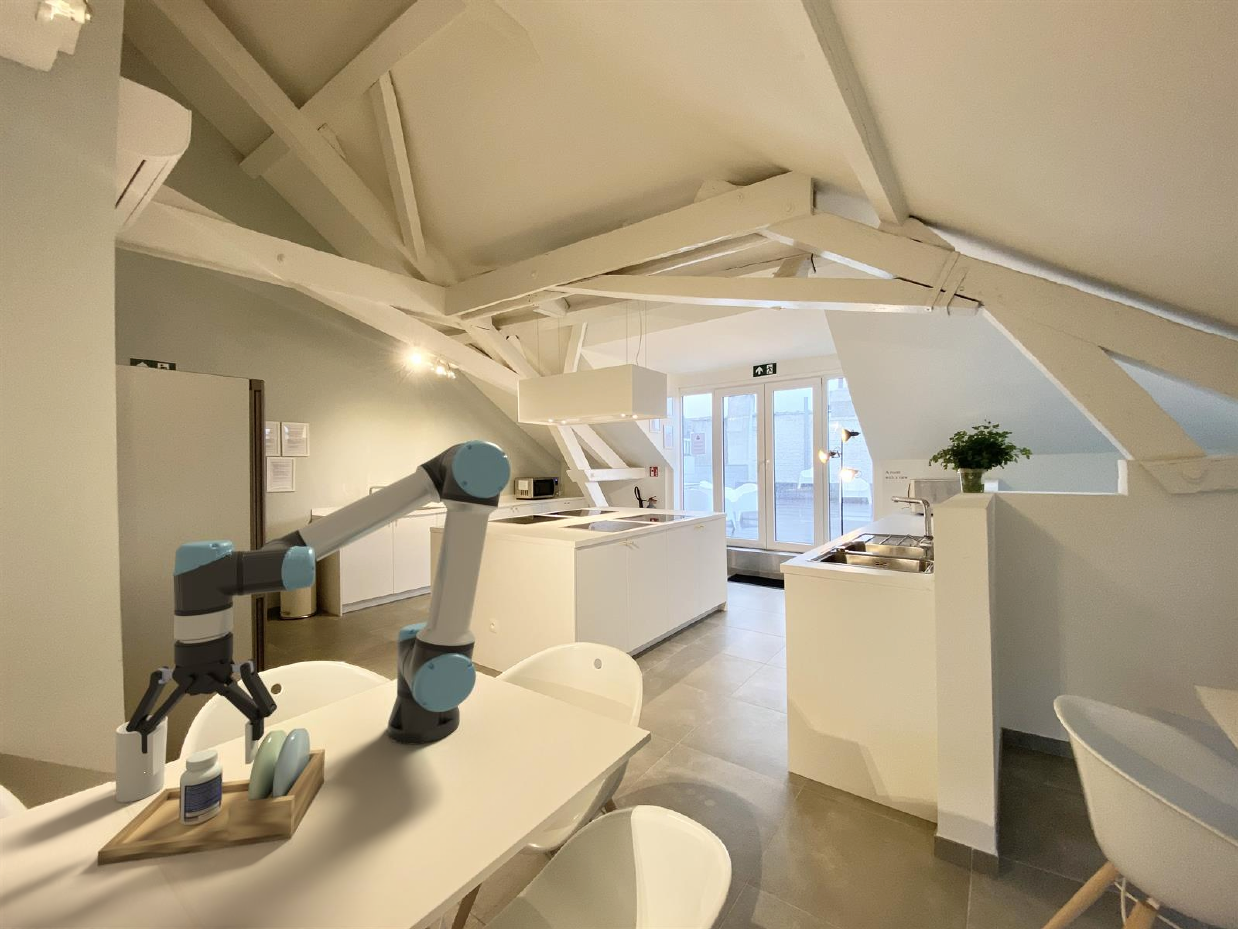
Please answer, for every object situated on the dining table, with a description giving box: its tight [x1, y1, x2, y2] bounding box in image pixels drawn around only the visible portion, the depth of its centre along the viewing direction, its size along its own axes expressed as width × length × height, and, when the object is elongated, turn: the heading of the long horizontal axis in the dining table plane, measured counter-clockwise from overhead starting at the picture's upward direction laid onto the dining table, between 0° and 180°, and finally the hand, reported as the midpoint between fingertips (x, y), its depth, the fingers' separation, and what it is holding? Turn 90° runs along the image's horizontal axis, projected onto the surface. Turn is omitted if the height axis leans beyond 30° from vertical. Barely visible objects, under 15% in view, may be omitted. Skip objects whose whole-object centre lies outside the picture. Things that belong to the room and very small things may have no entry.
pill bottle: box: [179, 748, 224, 825], centre depth 82 cm, size 5×5×10 cm
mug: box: [115, 714, 168, 803], centre depth 92 cm, size 10×7×12 cm, turn 16°
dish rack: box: [97, 748, 326, 867], centre depth 83 cm, size 25×15×6 cm, turn 103°
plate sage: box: [248, 729, 288, 801], centre depth 85 cm, size 1×12×12 cm, turn 13°
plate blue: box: [273, 727, 311, 798], centre depth 85 cm, size 1×12×12 cm, turn 13°
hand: (204, 765), depth 83 cm, fingers open, 13 cm apart
